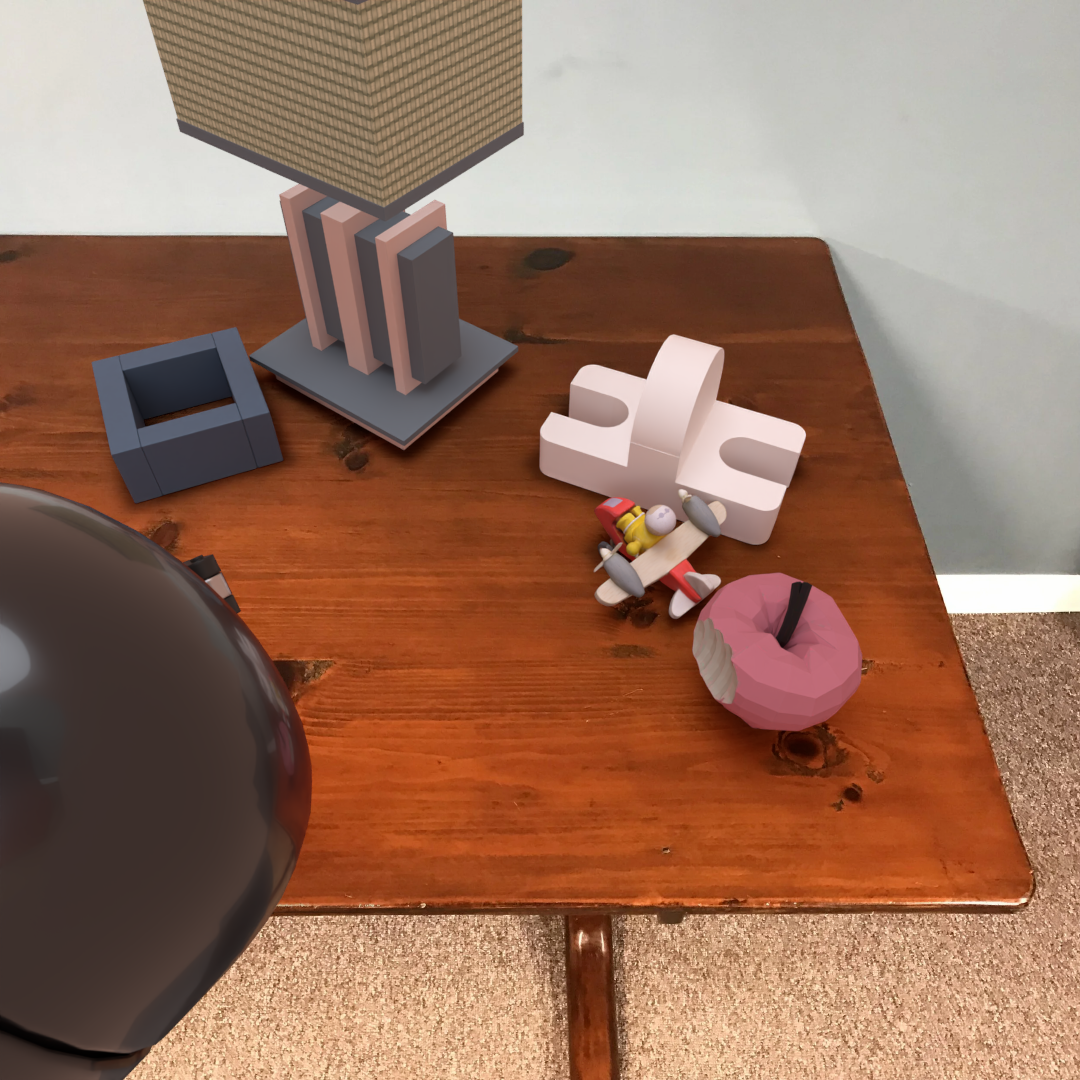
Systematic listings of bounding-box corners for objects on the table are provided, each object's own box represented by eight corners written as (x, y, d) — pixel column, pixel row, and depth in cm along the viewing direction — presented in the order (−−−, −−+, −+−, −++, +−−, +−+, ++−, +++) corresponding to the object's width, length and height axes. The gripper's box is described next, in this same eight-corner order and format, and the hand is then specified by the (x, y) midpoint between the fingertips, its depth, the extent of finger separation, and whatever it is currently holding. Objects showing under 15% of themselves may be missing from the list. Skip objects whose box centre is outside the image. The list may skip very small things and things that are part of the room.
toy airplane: (592, 524, 65) (598, 461, 60) (718, 532, 64) (734, 469, 60) (588, 628, 59) (594, 567, 54) (726, 637, 59) (745, 577, 54)
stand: (135, 504, 65) (110, 454, 62) (114, 411, 72) (91, 361, 68) (283, 460, 68) (269, 411, 65) (251, 375, 75) (236, 326, 71)
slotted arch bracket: (582, 396, 74) (590, 283, 66) (798, 462, 69) (835, 349, 61) (534, 471, 68) (535, 358, 60) (764, 549, 63) (800, 437, 55)
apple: (667, 649, 58) (689, 551, 50) (792, 626, 59) (832, 528, 52) (716, 785, 52) (750, 698, 44) (855, 757, 53) (910, 667, 46)
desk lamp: (525, 374, 75) (526, -82, 50) (415, 469, 68) (351, -9, 43) (366, 296, 82) (296, -139, 57) (249, 376, 75) (111, -85, 50)
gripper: (206, 474, 27) (180, 500, 43) (-363, 706, 22) (-159, 641, 37) (312, 690, 29) (249, 640, 44) (-201, 961, 23) (-68, 796, 38)
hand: (62, 641), depth 40 cm, fingers closed on supplement bottle, 6 cm apart
